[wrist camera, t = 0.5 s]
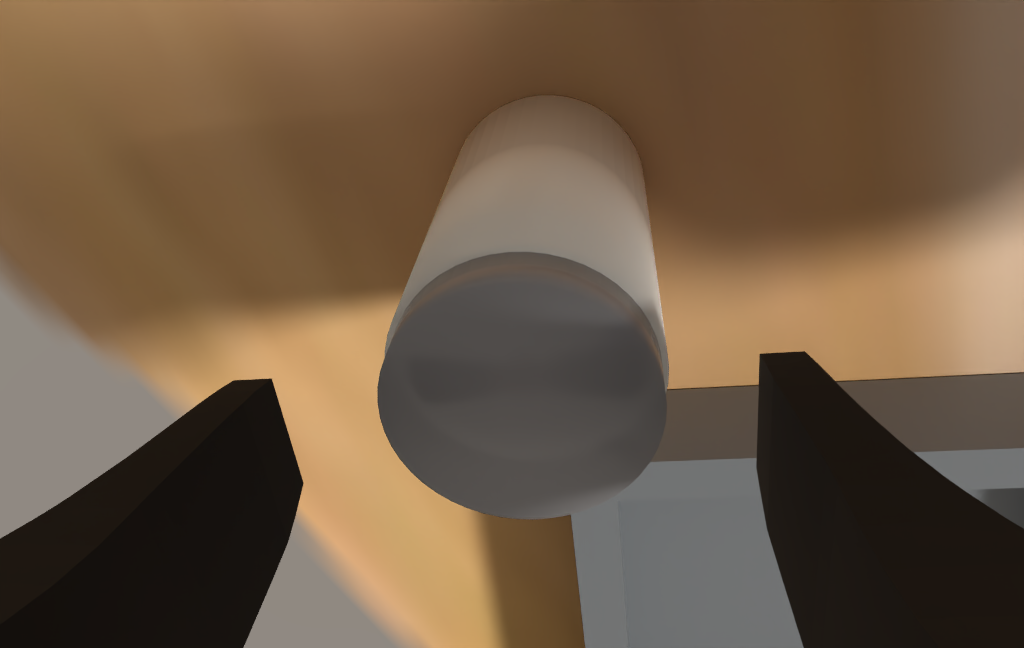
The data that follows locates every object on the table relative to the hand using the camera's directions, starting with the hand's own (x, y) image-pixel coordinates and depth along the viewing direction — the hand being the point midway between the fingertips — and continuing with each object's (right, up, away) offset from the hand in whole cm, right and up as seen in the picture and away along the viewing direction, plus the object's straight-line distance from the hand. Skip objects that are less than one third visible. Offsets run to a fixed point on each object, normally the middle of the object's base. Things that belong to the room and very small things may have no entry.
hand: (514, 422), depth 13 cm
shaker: (+1, +5, +8) cm, 9 cm away
